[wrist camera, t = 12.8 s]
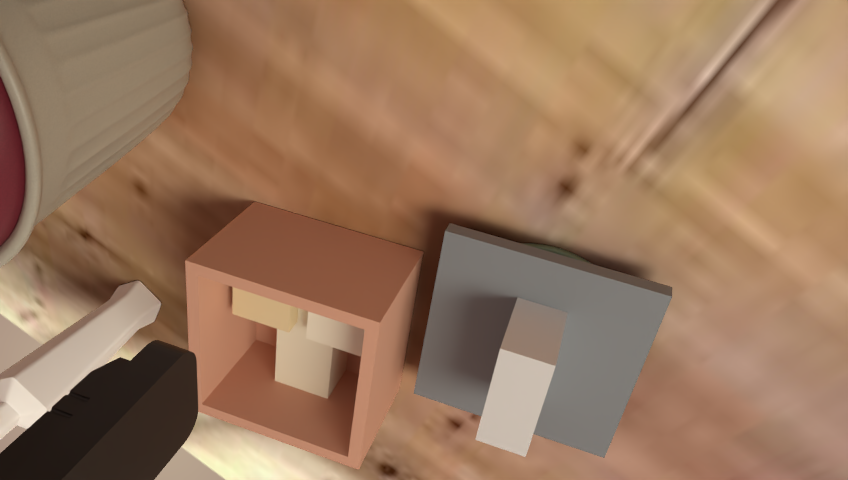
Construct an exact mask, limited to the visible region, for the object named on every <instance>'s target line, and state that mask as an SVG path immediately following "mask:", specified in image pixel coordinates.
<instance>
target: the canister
mask: <svg viewBox="0 0 848 480" xmlns="http://www.w3.org/2000/svg"><path fill="white" fill-rule="evenodd" d="M191 32H192V29H191V27H190V25H189V21H188V12H187V10H186V9H185V7H184V4H183V1H182V0H0V267H2V266H4V265H5V264H7V263H8V262H9V261H10V260H12V259H13V258H14V257H15V256H16V255H17V254H18V253H19V251H20V250H21V249H22V248H23V246H24V245H25V243H26V242H27V240H28V238H29V236H30V234H31V232H32V230H33V228H34V226H35V225H36V224H37V223H39V222H40V221H41V220H43V219H44V218H45V217H47V216H48V215H49V214H51V213H52V212H53V211H55V210H56V209H57V208H58V207H60V206H61V205H62V204H63V203H65V202H66V201H67V200H68V199H70V198H71V197H72V196H74V195H75V194H76V193H77V192H79V191H80V190H81V189H83V188H84V187H85V186H86V185H88V184H89V183H90V182H92V181H93V180H94V179H96V178H97V177H98V176H99V175H101V174H102V173H103V172H104V171H106V170H107V169H108V168H110V167H111V166H112V165H113V164H115V163H116V162H117V161H118V160H120V159H121V158H122V157H123V156H124V155H126V154H127V153H128V152H129V151H130V150H132V149H133V148H134V147H135V146H136V145H138V144H139V143H140V142H141V141H142V140H143V139H145V138H146V137H147V136H148V135H149V134H151V133H152V132H153V131H154V130H155V129H156V128H157V127H158V126H159V125H160V124H161V123H162V122H163V121H164V120H165V119H166V118H167V117H168V116H169V115H170V114H171V113H172V111H173V110H174V108H175V106H176V104H177V103H178V102H179V101H180V99H181V97H182V95H183V93H184V88H185V86H186V85H187V83H188V80H189V70H190V69H191V66H192V59H191V53H192V50H193V44H192V42H191Z"/></svg>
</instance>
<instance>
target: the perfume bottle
mask: <svg viewBox="0 0 848 480" xmlns="http://www.w3.org/2000/svg"><path fill="white" fill-rule="evenodd" d="M160 307H161V302H160V301H159V300H158V299H157V298H156V297H155V296H154V295H153V294H152V293H151V292H150V291H149V290H148V289H147V288H146V287H145V286H144V285H143V284H142V283H141V282H140V281H134V282H130V283H127V284H123V285H120V286H118V288H117V289H116V291H115V292H114V294H113V295H112V297H111V298H110V300H108V301H107V302H105V303H104V304H102V305H101V306H99V307H98V308H96V309H95V310H94V311H92V312H91V313H89V314H88V315H86V316H85V317H83V318H82V319H80V320H79V321H77V322H76V323H74V324H73V325H71V326H70V327H69V328H67V329H66V330H64V331H63V332H61V333H60V334H58V335H57V336H55V337H54V338H52V339H51V340H49V341H48V342H46V343H45V344H44V345H42V346H41V347H39V348H38V349H36V350H35V351H33V352H32V353H30V354H29V355H27V356H26V357H24V358H23V359H22V360H20V361H19V362H17V363H16V364H14V365H13V366H11V367H10V368H9V369H7V370H5V371H4V372H2V373H1V374H0V439H2V438H3V437H4V436H5V435H6V434H7V433H8V432H10V431H11V430H12V429H13V428H14V427H15V426H16V425H17V426H20V427H23V428H26V429H28V428H29V427H30V426H31V425H32V424H33V423H35V422H36V421H37V420H38V419H39V418H40V417H41V416H42V415H43V414H45V413H46V412H47V411H49V412H50V411H51V409H52V406H53V405H55V404H56V403H57V402H58V401H59V400H60V399H61V398H62V397H63V396H65V395H68V394H69V393H70V390H71V389H72V388H73V387H75V386H76V385H77V384H78V383H79V382H80V381H81V380H82V379H83V378H85V377H86V376H87V375H88V374H89V373H90V372H91V371H93V370H95V369H97V368H99V367H101V366H103V365H105V364H106V363H107V362H108V361H109V360H110V359H111V358H112V357H113V356H114V355H115V353H116V352H117V351H118V350H119V349H120V348H121V347H122V346H123V345H124V344H125V343H126V342H127V341H128V340H129V339H130V338H131V337H132V336H133V335H134V333H135V332H136V331H137V330H138V329H140V328H142V327H144V326H146V325H148V324H151V323H153V322H154V321H155V319H156V316H157V314H158V312H159V309H160Z"/></svg>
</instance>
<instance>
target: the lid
mask: <svg viewBox="0 0 848 480" xmlns="http://www.w3.org/2000/svg"><path fill="white" fill-rule="evenodd" d="M671 298H672V287H670V286H666V285H663V284H660V283H656V282H653V281H649V280H646V279H642V278H639V277H635V276H632V275H628V274H625V273H621V272H618V271H614V270H611V269H608V268H604V267H601V266H597V265H594V264H590V263H587V262H583V261H580V260H576V259H573V258H569V257H566V256H562V255H559V254H556V253H552V252H549V251H545V250H542V249H538V248H535V247H531V246H528V245H524V244H521V243H517V242H514V241H510V240H507V239H504V238H500V237H497V236H493V235H490V234H486V233H483V232H479V231H476V230H472V229H469V228H465V227H462V226H458V225H455V224H452V223H449V225H448V227H447V229H446V230H445V234H444V239H443V245H442V250H441V255H440V260H439V265H438V271H437V276H436V281H435V286H434V291H433V296H432V302H431V307H430V312H429V317H428V322H427V328H426V333H425V338H424V343H423V348H422V353H421V359H420V364H419V369H418V374H417V379H416V385H415V390H414V394H417V395H420V396H423V397H426V398H429V399H432V400H435V401H438V402H441V403H444V404H447V405H450V406H453V407H455V408H458V409H461V410H464V411H467V412H470V413H473V414H476V415H479V416H482V417H481V421H480V425H479V428H478V432H477V436H476V439H475V440H478V441H481V442H484V443H486V444H489V445H492V446H495V447H498V448H501V449H504V450H507V451H510V452H513V453H515V454H518V455H521V456H524V457H526V454H527V451H528V448H529V445H530V442H531V439H532V436H533V434H535V435H538V436H541V437H544V438H547V439H550V440H553V441H556V442H559V443H562V444H565V445H568V446H571V447H574V448H577V449H580V450H583V451H586V452H588V453H591V454H594V455H597V456H600V457H603V458H604V457H605V455H606V453H607V450H608V448H609V445H610V443H611V441H612V438H613V436H614V434H615V431H616V429H617V426H618V424H619V422H620V419H621V417H622V414H623V412H624V410H625V407H626V405H627V403H628V400H629V398H630V395H631V393H632V391H633V388H634V386H635V384H636V381H637V379H638V376H639V374H640V372H641V369H642V367H643V365H644V362H645V360H646V357H647V355H648V353H649V350H650V348H651V346H652V343H653V341H654V338H655V336H656V334H657V331H658V329H659V327H660V324H661V322H662V319H663V317H664V315H665V312H666V310H667V308H668V305H669V303H670V300H671Z"/></svg>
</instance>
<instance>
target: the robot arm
mask: <svg viewBox="0 0 848 480" xmlns="http://www.w3.org/2000/svg"><path fill="white" fill-rule="evenodd" d="M197 415H198V385H197V360H196V355H195V354H194V353H193V352H191V351H188V350H185V349H182V348H179V347H177V346H174V345H171V344H168V343H165V342H162V341H159V340H155V341H152V342H151V343H149V344H148V345H147V346H146V347H144V348H143V349H142V350H141V351H140V352H139V353H138V354H137V355H136V356H135V357H134V358H133V359H132V360H131V361H129V360H126V359H123V358H121V357H120V358H118V359H116V360H114V361H112V362H110V363H108V364H105V365H103V366H101V367H99V368H97V369H95V370H93V371H91V372H90V373H89V374H88V375H87V376H86V377H85V378H83V379H82V380H81V381H80V382H79V383H78V384H77V385H76V386H75V387H73V388H72V389H71V390H70V393H69V394H68V395H65V396H63V397H62V398H61V399H60V400H59V401H58V402H57V403H56V404H55V405H53V406H52V409H51V411H50V412H49V411H47V412H46V413H45V414H43V415H42V416H41V417H40V418H39V419H38V420H37V421H36V422H35V423H33V424H32V425H31V426H30V427H29V428H28V429H27V430H26V431H25V432H23V433H22V434H21V435H20V436H19V437H18V438H17V439H16V440H15V441H14V442H12V443H11V444H10V445H9V446H8V447H7V448H6V449H5V450H4V451H2V452H1V453H0V480H154V479H155V478H156V477H157V475H158V474H159V473H160V472H161V471H162V469H163V468H164V467H165V466H166V464H167V463H168V462H169V461H170V460H171V458H172V457H173V456H174V455H175V453H176V452H177V451H178V450H179V449H180V447H181V446H182V445H183V444H184V442H185V441H186V440H187V438H188V437H189V435H190V433H191V432H192V429H193V427H194V425H195V422H196V419H197Z"/></svg>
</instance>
